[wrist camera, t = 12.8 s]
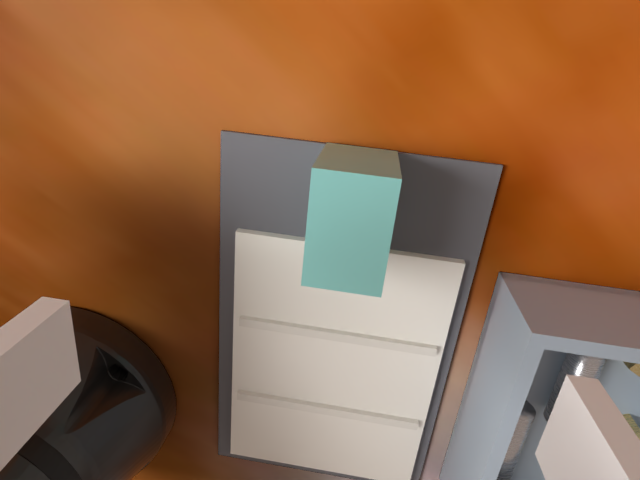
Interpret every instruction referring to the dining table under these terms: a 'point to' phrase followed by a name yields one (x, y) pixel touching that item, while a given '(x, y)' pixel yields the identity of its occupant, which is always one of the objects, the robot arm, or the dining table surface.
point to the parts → (570, 366)
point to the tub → (538, 366)
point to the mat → (290, 219)
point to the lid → (339, 328)
